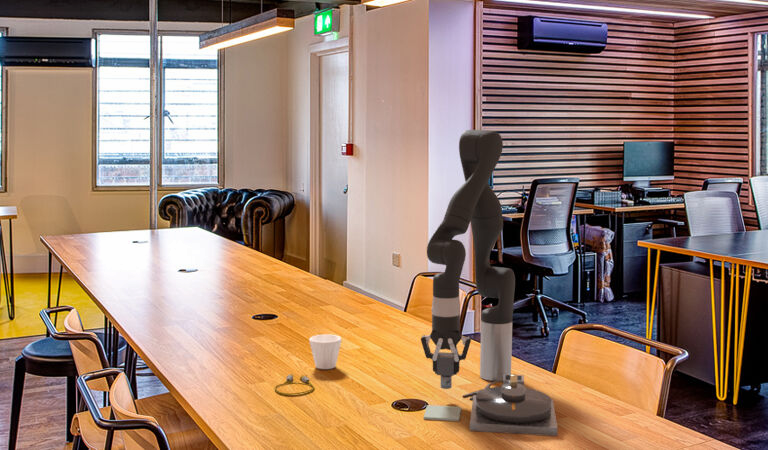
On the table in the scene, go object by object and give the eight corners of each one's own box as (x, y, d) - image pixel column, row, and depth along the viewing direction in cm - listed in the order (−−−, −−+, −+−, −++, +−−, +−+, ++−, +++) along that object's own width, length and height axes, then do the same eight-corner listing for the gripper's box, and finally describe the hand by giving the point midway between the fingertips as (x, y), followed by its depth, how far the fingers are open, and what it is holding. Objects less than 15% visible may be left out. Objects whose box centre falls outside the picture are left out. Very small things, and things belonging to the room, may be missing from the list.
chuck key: (438, 383, 216) (438, 352, 214) (454, 384, 215) (455, 352, 214) (437, 389, 211) (436, 357, 210) (453, 390, 210) (453, 357, 209)
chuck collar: (477, 394, 212) (477, 362, 210) (549, 398, 209) (549, 365, 208) (474, 420, 192) (474, 384, 191) (553, 425, 189) (554, 389, 188)
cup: (340, 372, 239) (340, 342, 238) (307, 372, 239) (307, 342, 238) (342, 362, 249) (342, 334, 248) (311, 362, 249) (311, 334, 248)
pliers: (527, 385, 225) (491, 403, 210) (527, 388, 225) (491, 406, 210) (497, 378, 231) (460, 396, 216) (497, 381, 231) (460, 399, 216)
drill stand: (473, 402, 212) (473, 395, 212) (552, 406, 209) (552, 399, 209) (469, 430, 192) (469, 422, 191) (557, 436, 188) (557, 428, 188)
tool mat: (427, 407, 208) (427, 405, 208) (461, 409, 207) (461, 406, 207) (423, 419, 199) (423, 416, 199) (458, 421, 198) (458, 419, 198)
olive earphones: (327, 383, 230) (327, 376, 230) (302, 399, 215) (302, 392, 215) (290, 378, 234) (290, 371, 234) (263, 394, 220) (263, 387, 220)
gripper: (473, 309, 213) (473, 370, 215) (421, 308, 215) (421, 368, 217) (471, 316, 205) (471, 379, 208) (417, 314, 208) (418, 376, 210)
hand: (445, 373), depth 213 cm, fingers closed on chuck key, 4 cm apart
